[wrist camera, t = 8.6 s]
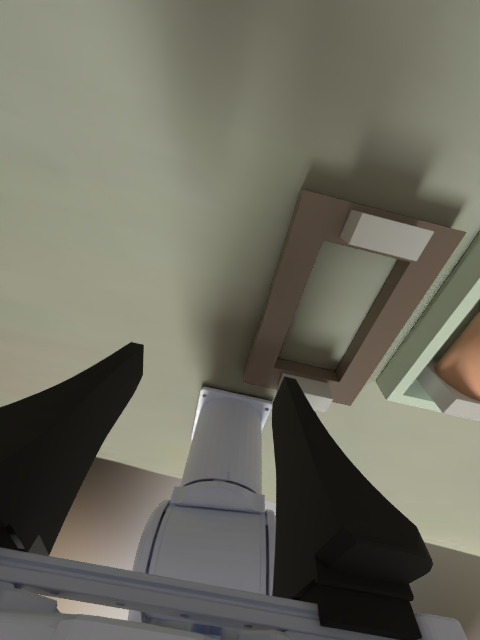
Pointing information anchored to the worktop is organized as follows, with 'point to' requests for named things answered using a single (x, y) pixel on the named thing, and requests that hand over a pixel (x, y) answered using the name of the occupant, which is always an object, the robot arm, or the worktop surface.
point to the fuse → (457, 375)
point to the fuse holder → (386, 312)
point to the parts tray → (434, 332)
